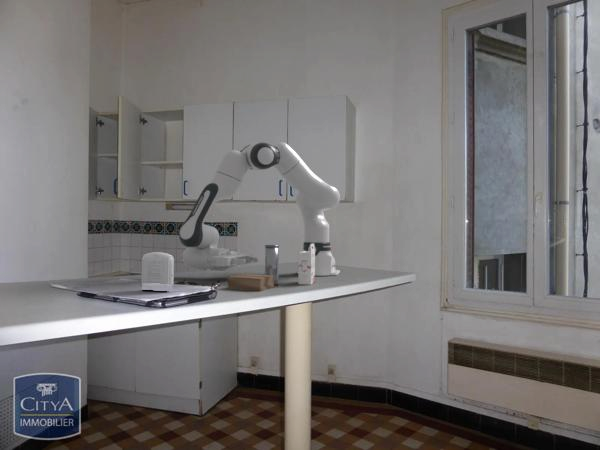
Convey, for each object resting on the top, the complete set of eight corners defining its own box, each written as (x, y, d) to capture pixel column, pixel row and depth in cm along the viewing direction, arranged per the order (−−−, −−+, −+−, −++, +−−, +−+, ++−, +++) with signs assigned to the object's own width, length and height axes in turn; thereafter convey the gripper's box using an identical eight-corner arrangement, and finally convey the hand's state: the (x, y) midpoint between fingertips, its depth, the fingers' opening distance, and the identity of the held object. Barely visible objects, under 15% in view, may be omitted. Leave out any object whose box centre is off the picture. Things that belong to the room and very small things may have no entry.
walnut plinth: (243, 285, 152) (243, 273, 152) (273, 287, 148) (273, 275, 148) (228, 288, 143) (228, 276, 143) (260, 291, 138) (260, 278, 138)
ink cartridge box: (302, 281, 164) (302, 243, 164) (315, 282, 163) (315, 243, 164) (297, 284, 156) (298, 243, 156) (311, 285, 155) (311, 244, 155)
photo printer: (175, 290, 137) (176, 252, 137) (168, 292, 133) (169, 252, 133) (146, 289, 139) (146, 251, 139) (138, 291, 135) (139, 252, 135)
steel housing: (268, 281, 163) (268, 244, 163) (280, 282, 161) (281, 245, 161) (262, 283, 158) (262, 245, 158) (274, 284, 156) (275, 245, 156)
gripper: (204, 252, 159) (237, 253, 153) (233, 250, 178) (263, 251, 172) (204, 269, 159) (237, 271, 153) (233, 265, 178) (263, 266, 172)
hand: (251, 260), depth 163 cm, fingers open, 8 cm apart
